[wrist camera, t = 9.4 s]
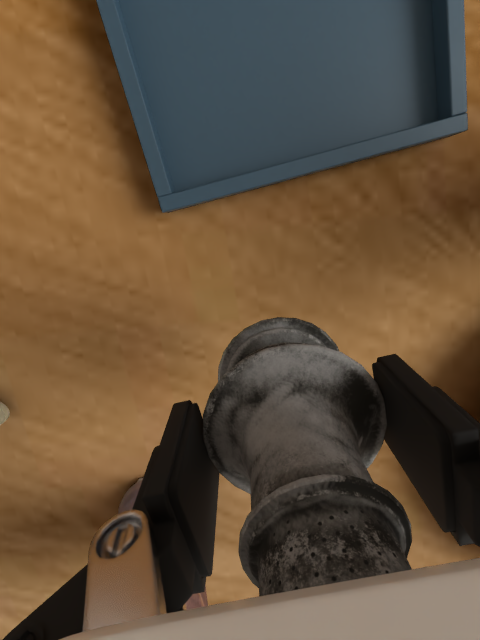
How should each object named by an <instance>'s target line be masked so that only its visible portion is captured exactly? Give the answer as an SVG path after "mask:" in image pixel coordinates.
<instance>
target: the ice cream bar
mask: <svg viewBox="0 0 480 640" xmlns="http://www.w3.org/2000/svg"><path fill="white" fill-rule="evenodd" d="M9 415H10V413H9V409H8V407H7V406H6V405H5V404H3V403H2V402H0V425H1V424H2V423H4V422H5V421H6V420H7V419H8V418H9Z"/></svg>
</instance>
